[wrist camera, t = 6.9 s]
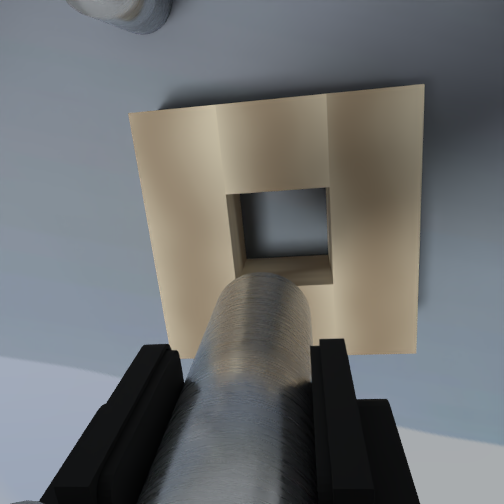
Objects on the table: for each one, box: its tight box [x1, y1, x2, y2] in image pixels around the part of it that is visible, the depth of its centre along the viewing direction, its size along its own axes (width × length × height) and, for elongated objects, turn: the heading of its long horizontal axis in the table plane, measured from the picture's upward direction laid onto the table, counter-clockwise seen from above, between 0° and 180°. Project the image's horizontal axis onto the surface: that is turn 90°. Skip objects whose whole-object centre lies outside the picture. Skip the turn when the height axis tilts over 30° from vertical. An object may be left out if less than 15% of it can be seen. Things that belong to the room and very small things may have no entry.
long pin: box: [136, 272, 318, 504], centre depth 8 cm, size 3×3×12 cm
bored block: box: [128, 84, 425, 359], centre depth 22 cm, size 12×12×4 cm
